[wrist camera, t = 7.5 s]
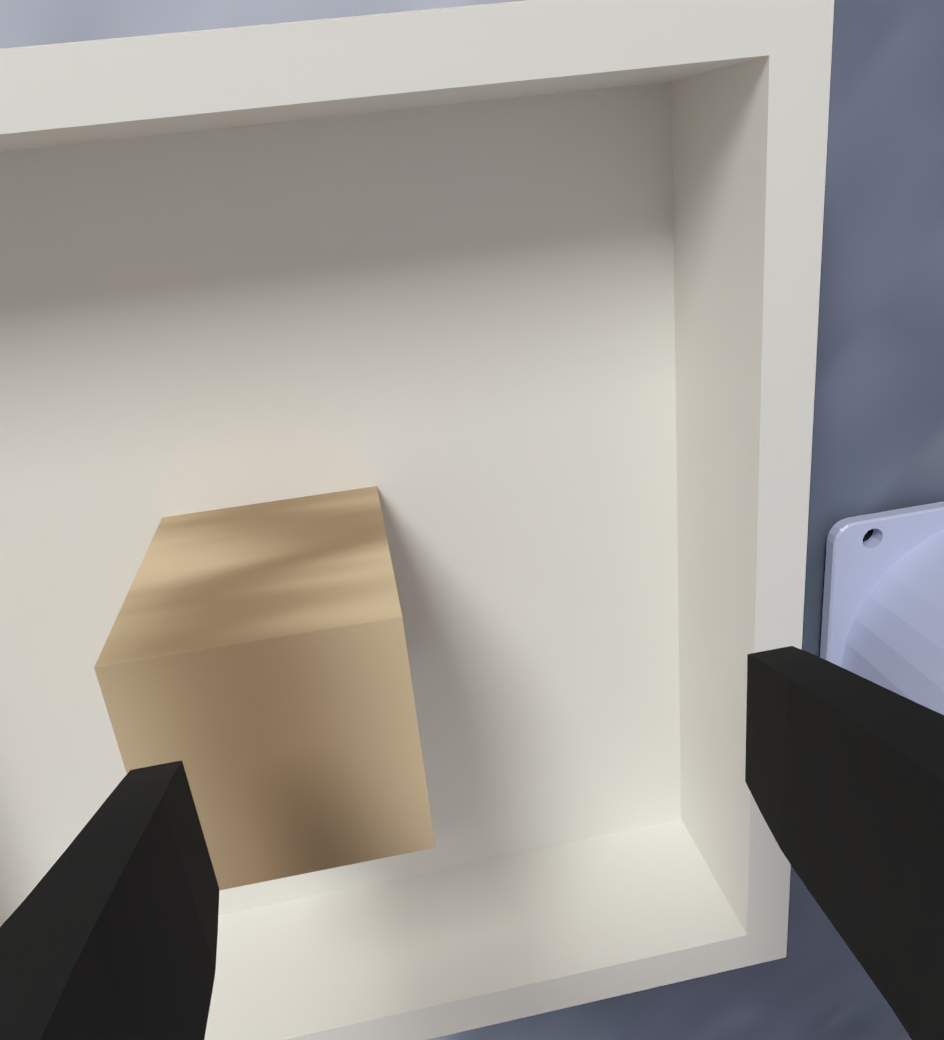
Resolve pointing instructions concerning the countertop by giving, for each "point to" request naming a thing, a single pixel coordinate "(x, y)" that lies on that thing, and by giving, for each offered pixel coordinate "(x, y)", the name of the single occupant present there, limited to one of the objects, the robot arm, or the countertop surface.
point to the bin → (437, 455)
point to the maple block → (275, 684)
